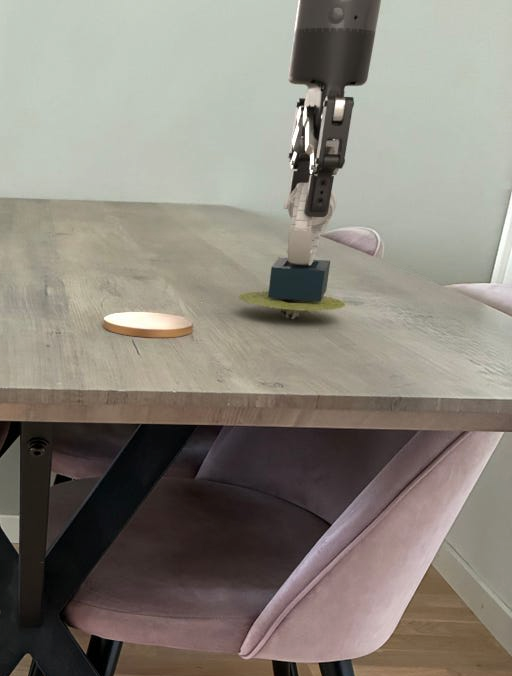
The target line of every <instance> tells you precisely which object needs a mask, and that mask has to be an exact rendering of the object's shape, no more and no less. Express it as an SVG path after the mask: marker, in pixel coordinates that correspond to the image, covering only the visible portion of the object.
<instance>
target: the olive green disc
mask: <svg viewBox="0 0 512 676" xmlns="http://www.w3.org/2000/svg"><path fill="white" fill-rule="evenodd" d="M268 294H269V290H268V291H251V292H246V293H245V292H244V293H241V294H239V295H238V298H239V299H240V300H241V301H243V302H245V303H247V304H252V305H258V306H260V307H261V306H262V307H265V308H274V309H275V308H276V309H280V312H279V313H280V314H283V315H284V316H285V318H286V319H289V318H290V317H291V320H294V319H296V318H299V315H300V311H303V312H304V311H305V312H307V311H308V312H316V311H317V312H318V311H324V312H325V311H326V310H327V311H330V310H337V309H342V308H344V307H345V306H346V303H345V302H344V301H342V300H340V299H337V298H335V297H331V296H327V295H324V296H323V298H322V299H321V301H309V300H296V299H283V298H269V297H268Z"/></svg>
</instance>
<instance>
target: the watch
mask: <svg viewBox="0 0 512 676" xmlns="http://www.w3.org/2000/svg"><path fill="white" fill-rule="evenodd" d="M308 184H309V182H307V183H298V184H297V185H296V187H295V189H294V190H293V191H292V193H291V195H290V198H289V201H288V200H284V203H283V209H284V210H287V212H288V214H289V217H290V219H291V225H290V230H289V231H288V241H287V249H286V254H287V257H281V256H279V257H278V258H277V259H276V260H275V262H274V263H273V264H272V266H271V268H270V277H269V284H268V285H269V286H268V292H269V294H268V297H269V298H283V299H296V300H309V301H321V299H322V298H323V296H325V294H326V292H327V289H328V281H329V274H330V267H331V260H328V259H327V260H326V259H315V258H316V254H317V251H318V246H319V242H320V237H321V234H322V233H325V231H326V229H327V226H328V224H329V222H330V220H331V219H332V217H333V215H334V212H335V210H336V207H337V196H336V194H335V192H334V190H332V191H331V197H330V203H329V209H328V214H327V215H326V216H325V217H309V216H306V215H305V213H304V210H305V203H306V197H307V190H308Z"/></svg>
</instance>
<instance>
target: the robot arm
mask: <svg viewBox="0 0 512 676" xmlns="http://www.w3.org/2000/svg"><path fill="white" fill-rule="evenodd" d="M381 3H382V0H298V3H297V10H296V17H295V25H294V32H293V38H292V39H293V40H292V46H291V53H290V54H291V55H290V61H289V68H288V74H287V75H288V76H287V79H288V82H289V83H290V84H292V85H304V86H306V87H307V91H306V95H305V98H304V97H298V98H297V101H296V103H295V113H294V114H295V115H294V120H293V127H292V133H291V137H290V138H291V139H290V145H289V146H290V147H289V151H288V154H287V159H288V162H289V164H290V170H292V171H291V178H290V185H289V191H288V197H287V201H289V198H290V195H291V193H292V191H293V190H294V189H295V187H296V185H297V184H298V183H307V182H309V184H308V190H307V197H306V203H305V210H304V213H305V215H306V216H309V217H325V216H326V215H327V214H328V209H329V203H330V197H331V191H333V183H334V179H335V176H336V175H337V174H338V172H339V170H341V169H343V167H344V165H345V163H346V153H347V146H348V140H349V134H350V128H351V120H352V114H353V108H354V106H355V100H354V96H345V88H346V87H361V86H364V85H365V84H366V83H367V81H368V78H369V71H370V66H371V60H372V54H373V50H374V49H373V48H374V44H375V37H376V33H377V32H376V31H377V27H378V26H377V25H378V21H379V14H380V11H381V9H380V8H381Z"/></svg>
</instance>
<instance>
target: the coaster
mask: <svg viewBox="0 0 512 676" xmlns="http://www.w3.org/2000/svg"><path fill="white" fill-rule="evenodd" d="M102 326H103V328H104V329H105V330H107V331H109V332H112V333H115V334H118V335H122V336H128V337H129V336H130V337H138V338H151V339H152V338H153V339H165V338H166V339H167V338H179V337H180V338H181V337H184V336H187V335H190V334H192V333H193V331H194V322H193V321H192V320H191V319H190V318H189V319H188V318H187V317H183V316H179V315H174V314H170V313H169V314H168V313H160V312H150V311H149V312H148V311H126V312H115V313H111V314H108V315H106V316H104V317H103V325H102Z"/></svg>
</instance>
